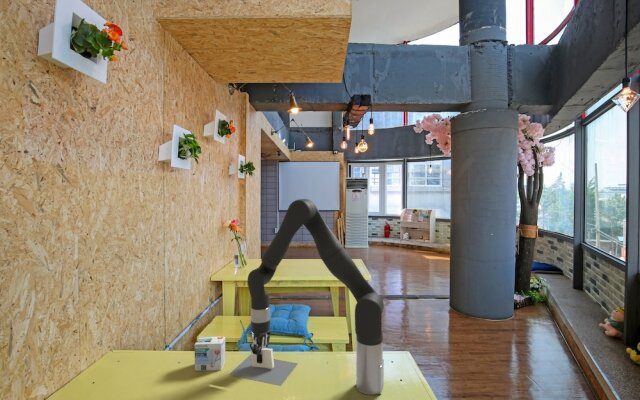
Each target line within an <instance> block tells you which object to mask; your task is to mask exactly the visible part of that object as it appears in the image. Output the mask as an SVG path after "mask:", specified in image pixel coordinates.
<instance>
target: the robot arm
mask: <svg viewBox="0 0 640 400" xmlns="http://www.w3.org/2000/svg"><path fill="white" fill-rule="evenodd" d="M302 226H304V227H305V229H306V230H308V232H309V234H310V235H311V237H312V239H313V242H314V244H315V247H316V250H317V254H318V255H319V257H320V259H321V261H322V262H323V264H324V265H325V267H326V268H327V269H328V271H329V272H330V273H331V275H332V276H333V277H334V278H336V279H337V280H339V281H340V282H341V283H342V284H343V285H345V287H346V288H347V289H348V290H349V291H350V293H351V294H352V296H353V297H354V299H355V301H356V304H355V306H354V307H355V308H354V328H355V329H354V331H355V335H356V338H355V339H356V343H355V344H356V348H355V349H356V356H355V357H356V363H355V364H356V371H355V372H356V378H355V379H356V389H357V391H359V392H360V393H362V394H364V395H369V396H370V395H371V396H372V395H382V392H383V390H384V389H383V388H384V384H385V383H384V382H385V381H384V372H385V369H384V366H385V361H384V358H383V357H384V355H383V354H384V353H383V349H384V348H383V346H384V344H383V343H384V342H383V339H384V337H383V336H384V335H383V332H382V331H383V330H382V329H383V328H382V327H383V325H382V314H383V312H384V301H383V299H382V297H381V296H380V294H379V293H378V292H377V291H376V290H375V289H374V288H373V287H372V285H371V284H370V283H369V282H368V280H366V279H365V277H364V275H363V274H362V273H361V271H360V269H359V268H358V266H357V265H356V263H355V262H354V260H353V258H352V257H351V256H350V254H349V253H348V252H347V250H346V249H345V247H344V246H343V245H342V243H341V242H340V240H339V239H338V238H337V236H336V235H335V233H334V232H333V231H332V230H331V229H330V227H329V226H328V224H327V223H326V221H325V219H324V218H323V216H322V214H321V213H320V210H319V208H318V207H317V206H316V203H314V202H313V200H310V199H307V198H300V199H296V200H294V201H292V202H291V203H290V204H289V205H288V208H287V210H286V212H285V215H284V218H283V220H282V221H281V224H280V225H279V228H278V231H277V232H276V234H275V236H274V237H273V239H272V241H271V242H270V244H269V246H268V247H267V248H266V250H265V251H264V253H263V255H262V257H261V263H260V265H259V266H258V268H255V269H252V270H251V271H250V272H249V273H248V276H247V287H248V291H249V294H250V300H251V301H250V305H251V306H250V331H251V332H252V334H253V336H252V337H253V339H252V340H253V342H252V343H249V349H250V351H251V350H252V352H253V354H256V355H257V363H260V364H261V363H262V353H263V351H262V350H263V348H269V343H270V338H271V335H272V332H271V331H270V330H271V311H270V294H269V292H268V291H266V290H265V285H266V284H268V283H270V281H271V280H272V279H273V277H274V275H275V273H276V271H277V268H278V266H279V265H280V263H281V262H282V260H283V259H284V257H285V256H286V253H287V252H288V249H289V247H290V244H291V242H292V240H293V238H294V236H295V235H296V234H297V232H298V231H299V230H300V228H301V227H302ZM259 349H260V351H259Z"/></svg>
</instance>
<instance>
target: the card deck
mask: <svg viewBox="0 0 640 400" xmlns="http://www.w3.org/2000/svg"><path fill="white" fill-rule="evenodd" d="M273 350H274V349H273V348H269V347H266V348H263V350H262V351H263V353H262V363H261V364H260V363H257V355H256V354H253V352H252V350H251V349H250V355H251V359H252V367H264V368H273V367H274V351H273ZM259 351H260V349H259Z"/></svg>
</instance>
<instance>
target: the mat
mask: <svg viewBox="0 0 640 400" xmlns="http://www.w3.org/2000/svg"><path fill="white" fill-rule="evenodd" d="M273 359H274V358H273ZM298 365H299V362H293V361H286V360H281V359H276V358H275V359H274V367H273V368H264V367H252V359H251V354H249V356H247V357H246V358H245V359H244V360H243V361H242V362H241V363H240V364H238V365H237V366H236V367H235V368H234V369H233V370H232V371H231V372H230V373H228V376H232V377H235V378H241V379H246V380H251V381H255V382H256V381H257V382H261V383H265V384H269V385H275V386H280V387H281V386H282V385H283V384H284V383H285V381H286V380H287V379H288V377H289V376H290V374H292V372H293V371H294V370H295V368H297V366H298Z"/></svg>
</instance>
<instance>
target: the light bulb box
mask: <svg viewBox="0 0 640 400" xmlns="http://www.w3.org/2000/svg"><path fill="white" fill-rule="evenodd" d="M225 363H226V337H225V336H199V338H198V339H197V341H196V342H195V343H194V371H195V372H198V371H199V372H200V371H201V372H202V371H206V372H207V371H222V369H223V368H224V366H225Z"/></svg>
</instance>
